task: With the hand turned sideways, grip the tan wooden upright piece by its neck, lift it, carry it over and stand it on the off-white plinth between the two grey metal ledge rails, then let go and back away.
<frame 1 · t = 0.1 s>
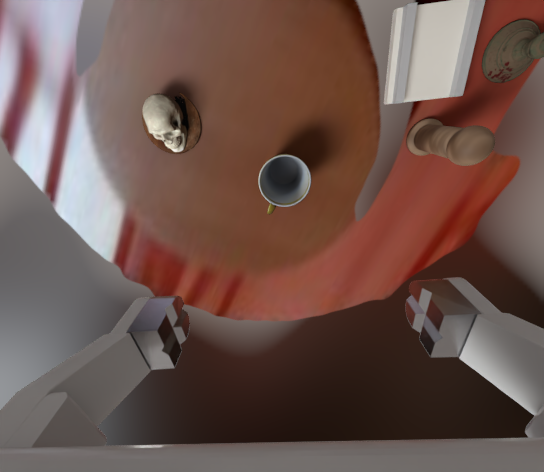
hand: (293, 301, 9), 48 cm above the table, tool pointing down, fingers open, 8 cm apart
plinth: (427, 56, 44), on the table
skull: (172, 123, 50), on the table
ceramic cup: (280, 176, 55), on the table
tan wooden upright piece: (423, 137, 50), on the table
candlestick holder: (508, 53, 43), on the table
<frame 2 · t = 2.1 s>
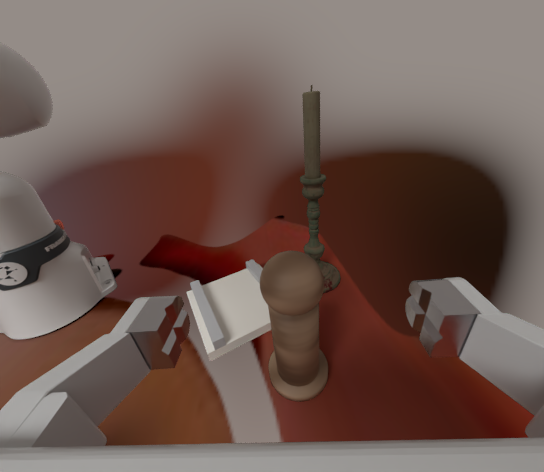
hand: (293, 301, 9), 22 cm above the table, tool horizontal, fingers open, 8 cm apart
plinth: (239, 306, 39), on the table
tan wooden upright piece: (298, 370, 29), on the table
candlestick holder: (314, 277, 44), on the table
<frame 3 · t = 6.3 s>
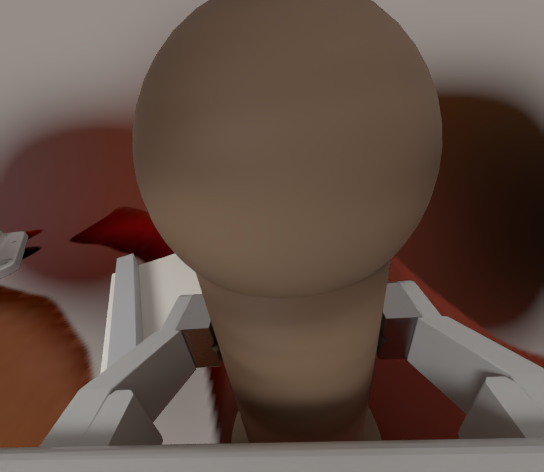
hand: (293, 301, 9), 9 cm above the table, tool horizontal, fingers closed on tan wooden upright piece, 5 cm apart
plinth: (199, 296, 22), on the table
tan wooden upright piece: (304, 442, 12), on the table, touching gripper
when the fingers open (11 cm above the table, at t = 10.7 s): tan wooden upright piece drops 1 cm, resting on plinth.
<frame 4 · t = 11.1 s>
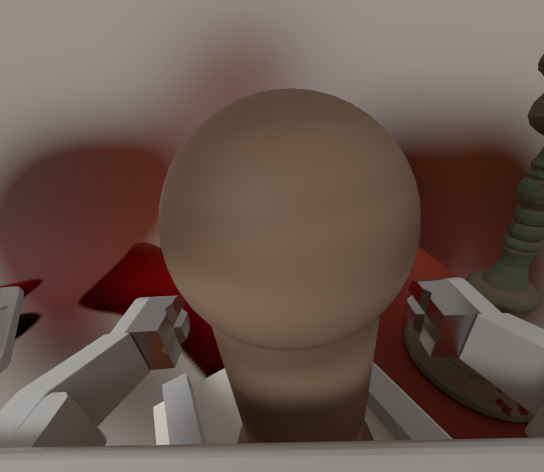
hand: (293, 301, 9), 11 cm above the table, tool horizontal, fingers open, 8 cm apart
plinth: (306, 467, 13), on the table
tan wooden upright piece: (305, 455, 13), point 2 cm above the table, touching plinth
candlestick holder: (471, 355, 18), on the table
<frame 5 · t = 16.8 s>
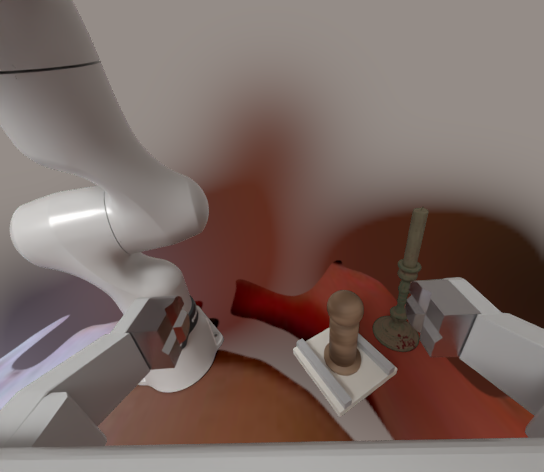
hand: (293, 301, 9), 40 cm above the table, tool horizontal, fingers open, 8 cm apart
plinth: (341, 362, 48), on the table
tan wooden upright piece: (342, 358, 47), point 2 cm above the table, touching plinth
candlestick holder: (394, 334, 53), on the table
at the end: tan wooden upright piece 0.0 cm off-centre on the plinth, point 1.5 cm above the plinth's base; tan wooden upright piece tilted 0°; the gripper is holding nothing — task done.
